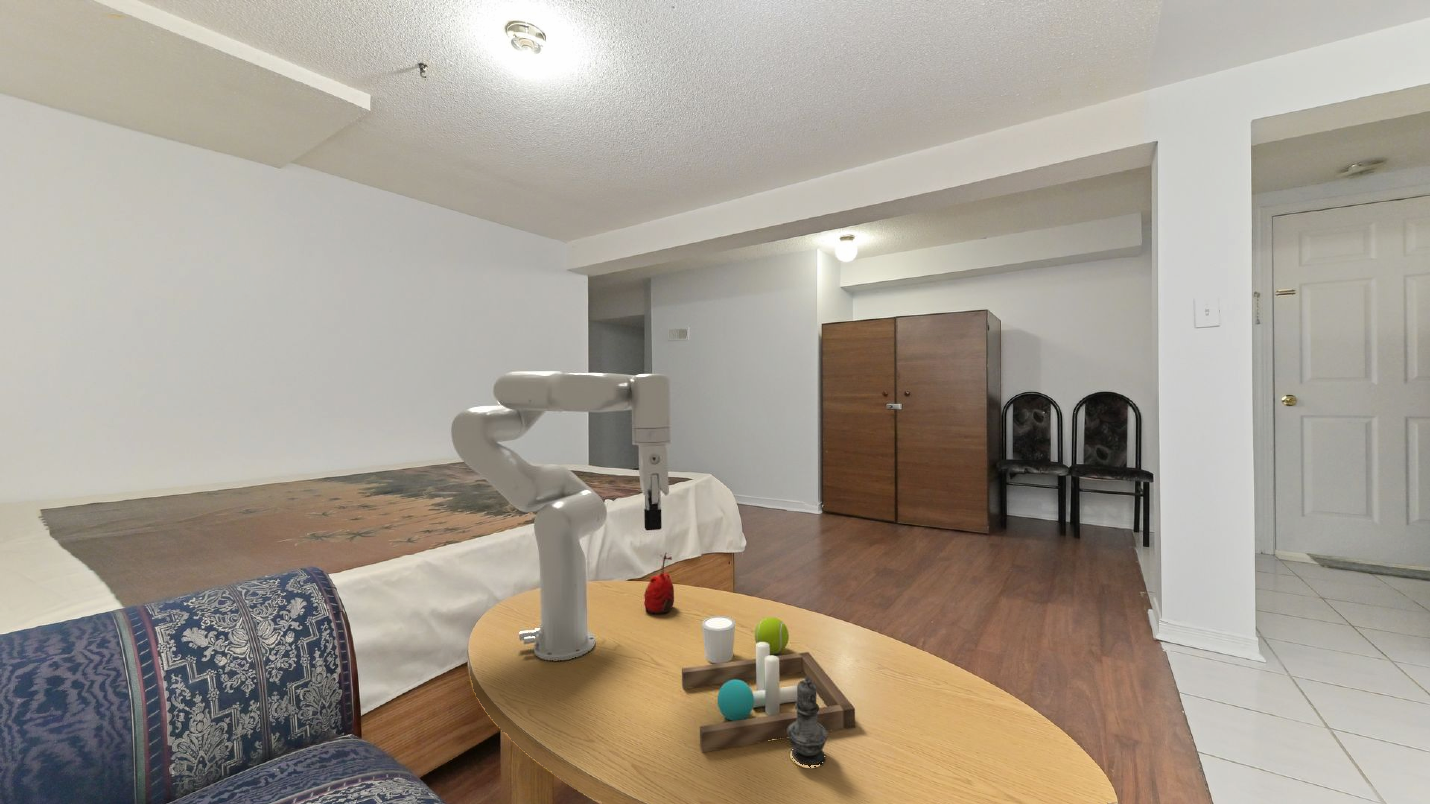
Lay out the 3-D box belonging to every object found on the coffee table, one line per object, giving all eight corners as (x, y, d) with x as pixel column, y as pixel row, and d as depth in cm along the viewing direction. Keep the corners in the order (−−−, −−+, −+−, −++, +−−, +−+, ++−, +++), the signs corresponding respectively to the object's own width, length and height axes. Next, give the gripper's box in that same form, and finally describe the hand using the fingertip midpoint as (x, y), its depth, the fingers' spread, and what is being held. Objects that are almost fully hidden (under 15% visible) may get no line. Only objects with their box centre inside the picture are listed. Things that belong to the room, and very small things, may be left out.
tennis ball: (751, 658, 107) (750, 623, 107) (759, 642, 114) (759, 610, 114) (785, 663, 105) (784, 628, 105) (791, 647, 112) (791, 614, 111)
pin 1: (758, 700, 92) (758, 649, 92) (754, 692, 95) (754, 642, 95) (772, 698, 93) (771, 647, 93) (767, 690, 95) (767, 641, 95)
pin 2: (767, 717, 88) (767, 663, 87) (763, 708, 90) (762, 656, 90) (781, 715, 88) (781, 661, 88) (777, 706, 90) (776, 654, 90)
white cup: (732, 666, 104) (732, 631, 104) (698, 663, 105) (698, 628, 105) (738, 649, 111) (737, 616, 111) (706, 647, 112) (705, 614, 112)
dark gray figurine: (797, 774, 74) (796, 690, 74) (781, 747, 80) (780, 669, 80) (835, 765, 76) (834, 682, 76) (816, 739, 82) (815, 663, 82)
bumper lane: (701, 752, 79) (701, 732, 79) (682, 684, 98) (681, 668, 98) (855, 727, 85) (854, 708, 85) (808, 667, 103) (808, 652, 103)
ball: (753, 730, 86) (716, 729, 86) (750, 697, 91) (715, 696, 91) (757, 703, 84) (719, 702, 83) (753, 671, 89) (718, 670, 89)
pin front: (753, 697, 89) (803, 690, 91) (749, 688, 92) (798, 682, 94) (753, 711, 90) (803, 703, 92) (749, 701, 92) (798, 694, 94)
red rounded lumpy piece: (664, 602, 137) (663, 544, 136) (680, 610, 131) (679, 550, 131) (639, 610, 132) (638, 550, 131) (654, 619, 126) (653, 556, 126)
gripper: (675, 439, 98) (677, 537, 98) (665, 433, 112) (667, 519, 113) (635, 440, 96) (636, 540, 97) (629, 434, 111) (631, 521, 111)
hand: (653, 528), depth 105 cm, fingers closed
